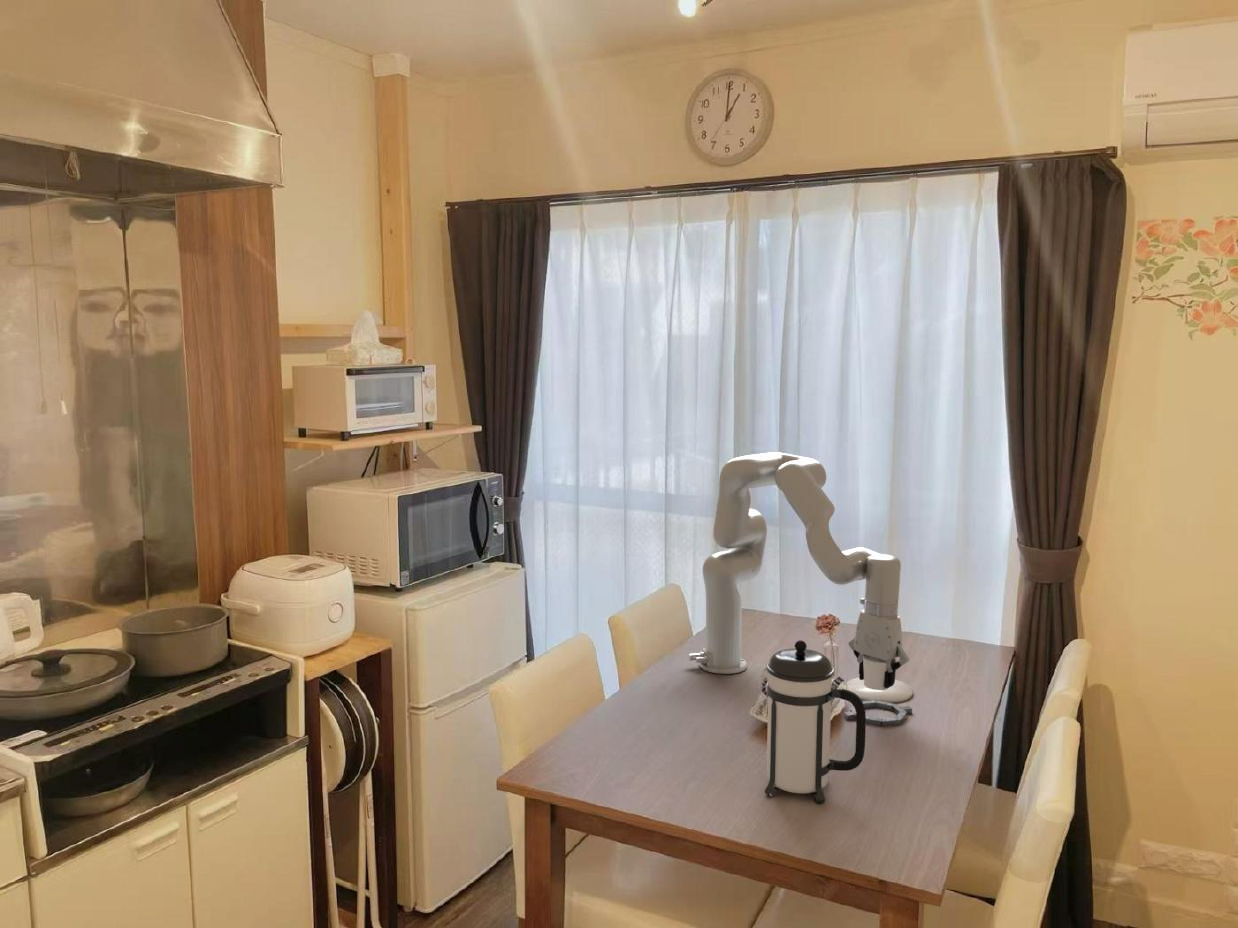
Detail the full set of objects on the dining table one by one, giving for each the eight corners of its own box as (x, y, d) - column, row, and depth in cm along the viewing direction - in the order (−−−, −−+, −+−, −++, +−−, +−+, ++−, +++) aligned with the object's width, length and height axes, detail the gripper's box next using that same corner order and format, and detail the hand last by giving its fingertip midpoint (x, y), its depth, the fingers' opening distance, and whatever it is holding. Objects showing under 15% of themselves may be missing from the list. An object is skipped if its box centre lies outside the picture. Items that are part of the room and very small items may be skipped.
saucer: (865, 705, 225) (865, 702, 224) (835, 682, 240) (835, 679, 240) (925, 699, 228) (925, 696, 228) (891, 676, 244) (891, 673, 244)
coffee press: (789, 815, 173) (793, 659, 169) (744, 778, 187) (747, 634, 183) (865, 797, 180) (870, 647, 176) (816, 763, 194) (820, 623, 190)
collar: (858, 728, 211) (858, 723, 211) (833, 708, 223) (834, 704, 223) (923, 721, 215) (924, 716, 215) (896, 702, 227) (896, 697, 226)
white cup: (893, 692, 215) (895, 662, 214) (863, 690, 216) (864, 661, 214) (889, 680, 221) (890, 652, 220) (859, 679, 222) (861, 650, 221)
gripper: (839, 602, 219) (835, 675, 222) (906, 620, 207) (901, 697, 210) (857, 596, 224) (853, 668, 227) (923, 613, 212) (918, 689, 215)
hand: (876, 681), depth 218 cm, fingers closed on white cup, 5 cm apart
